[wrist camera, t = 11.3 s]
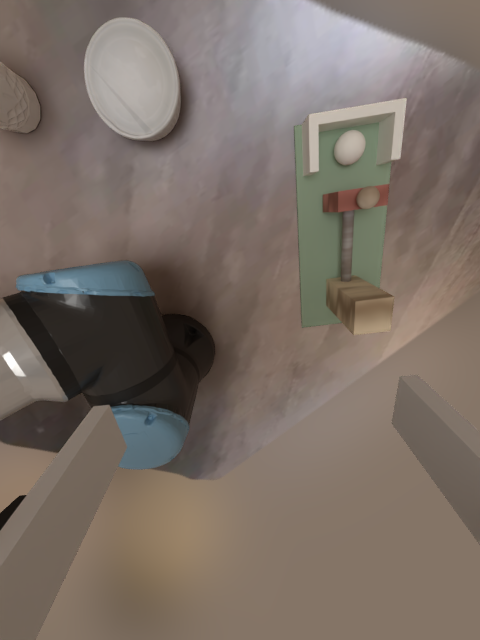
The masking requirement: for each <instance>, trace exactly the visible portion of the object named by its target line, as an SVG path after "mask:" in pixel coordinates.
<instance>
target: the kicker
mask: <svg viewBox="0 0 480 640" xmlns="http://www.w3.org/2000/svg"><path fill="white" fill-rule="evenodd" d="M388 193H389V184H384V185H378V186H367V187H364V188H358V189H351V190H344V191H338V192H333V193H328V194H324V195H323V212H343V219H342V253H341V277H338V278H330V279H326V306H327V307H328V308H329V309H330V310H331V311H332V312H333V313H334V314H335V315H336V317H337V318H338V319H339V320H340V321H341V322H342V323H343V324H344V325H345V326H346V327H347V329H348V330H349V331H350V332H351V333H352V334H353V335H360V334H368V333H377V332H385V331H390V330H391V322H392V313H393V305H394V296H392V295H390V294H389V293H387V292H385V291H383V290H381V289H379V288H378V287H376V286H374V285H372V284H370V283H369V282H367V281H365V280H363V279H361V278H359V277H358V276H356V275H353V276H351V272H352V251H353V229H354V210H358V209H370V208H372V207H378V206H385V205H387V203H388Z"/></svg>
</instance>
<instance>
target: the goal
mask: <svg viewBox="0 0 480 640" xmlns="http://www.w3.org/2000/svg"><path fill="white" fill-rule="evenodd" d="M406 100H407V98H404V99H398V100H392V101H386V102H380V103H374V104H368V105H362V106H356V107H350V108H344V109H338V110H332V111H326V112H320V113H314V114H309V115H308V116H307V118H306V119H305V121H304V122H303V123H302V156H303V176H309V175H312V174H314V173H316V172H318V171H319V132H323V131H329V130H336V129H342V128H348V127H354V126H360V125H366V124H372V123H378V122H379V131H378V145H377V159H376V165H381V164H386V163H389V162H392V161H395V160H398V159H400V156H401V147H402V137H403V128H404V119H405V109H406Z"/></svg>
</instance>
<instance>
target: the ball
mask: <svg viewBox="0 0 480 640" xmlns="http://www.w3.org/2000/svg"><path fill="white" fill-rule="evenodd" d="M365 145H366V142H365V138H364V136H363V134H362V133H361V132H359V131H357V130H350V131H347V132H345V133H344V134H342V135H341V136H340V137H339V139H338V140H337V142H336V144H335V147H334V156H335V159H336V160H337V162H338V163H340V164H342V165H351V164H353V163H355V162H356V161H358V160H359V159H360V157H361V156H362V154H363V153H364V150H365Z"/></svg>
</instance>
